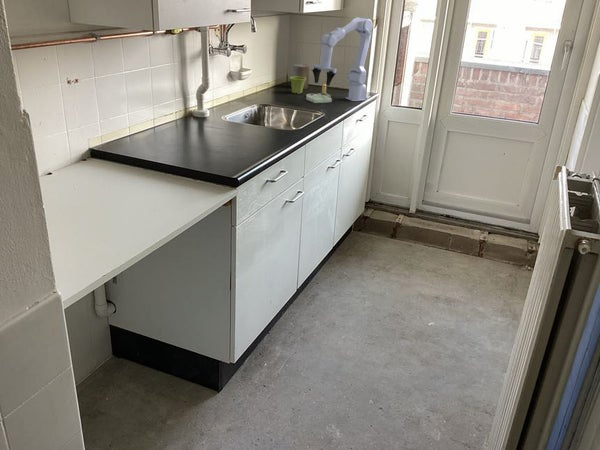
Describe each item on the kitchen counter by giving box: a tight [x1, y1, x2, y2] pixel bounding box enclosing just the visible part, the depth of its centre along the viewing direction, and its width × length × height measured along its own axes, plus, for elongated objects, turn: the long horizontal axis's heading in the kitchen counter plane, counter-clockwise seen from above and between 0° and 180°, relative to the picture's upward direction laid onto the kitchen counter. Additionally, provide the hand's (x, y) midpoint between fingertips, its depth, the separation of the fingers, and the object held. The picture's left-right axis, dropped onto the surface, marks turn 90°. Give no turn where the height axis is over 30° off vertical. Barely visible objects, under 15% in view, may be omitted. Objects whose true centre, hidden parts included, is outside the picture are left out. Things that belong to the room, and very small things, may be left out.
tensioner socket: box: [316, 92, 332, 99], centre depth 309 cm, size 6×6×2 cm
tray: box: [305, 94, 333, 104], centre depth 298 cm, size 11×9×2 cm
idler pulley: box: [305, 93, 317, 96], centre depth 306 cm, size 7×7×2 cm
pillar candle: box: [292, 63, 310, 90], centre depth 327 cm, size 10×10×15 cm
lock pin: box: [321, 83, 327, 95], centre depth 307 cm, size 3×3×7 cm
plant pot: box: [289, 76, 306, 95], centre depth 314 cm, size 9×9×9 cm
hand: (322, 84), depth 288 cm, fingers open, 7 cm apart
